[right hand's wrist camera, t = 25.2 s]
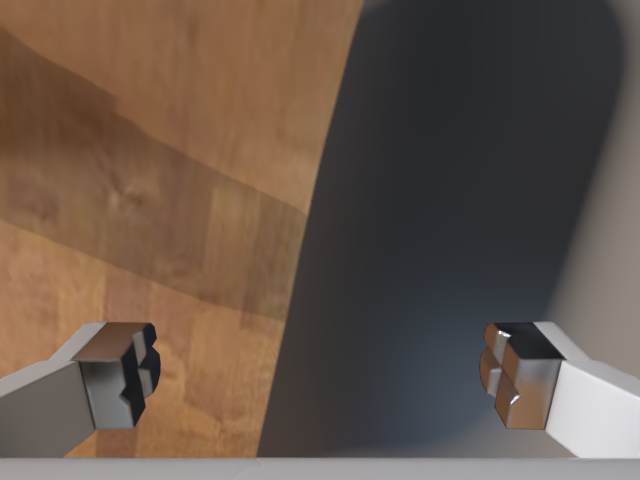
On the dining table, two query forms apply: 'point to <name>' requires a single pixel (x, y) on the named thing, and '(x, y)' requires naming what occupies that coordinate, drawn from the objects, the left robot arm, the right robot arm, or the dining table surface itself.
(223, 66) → the dining table surface
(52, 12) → the dining table surface
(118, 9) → the dining table surface
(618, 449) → the right robot arm
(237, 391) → the dining table surface
